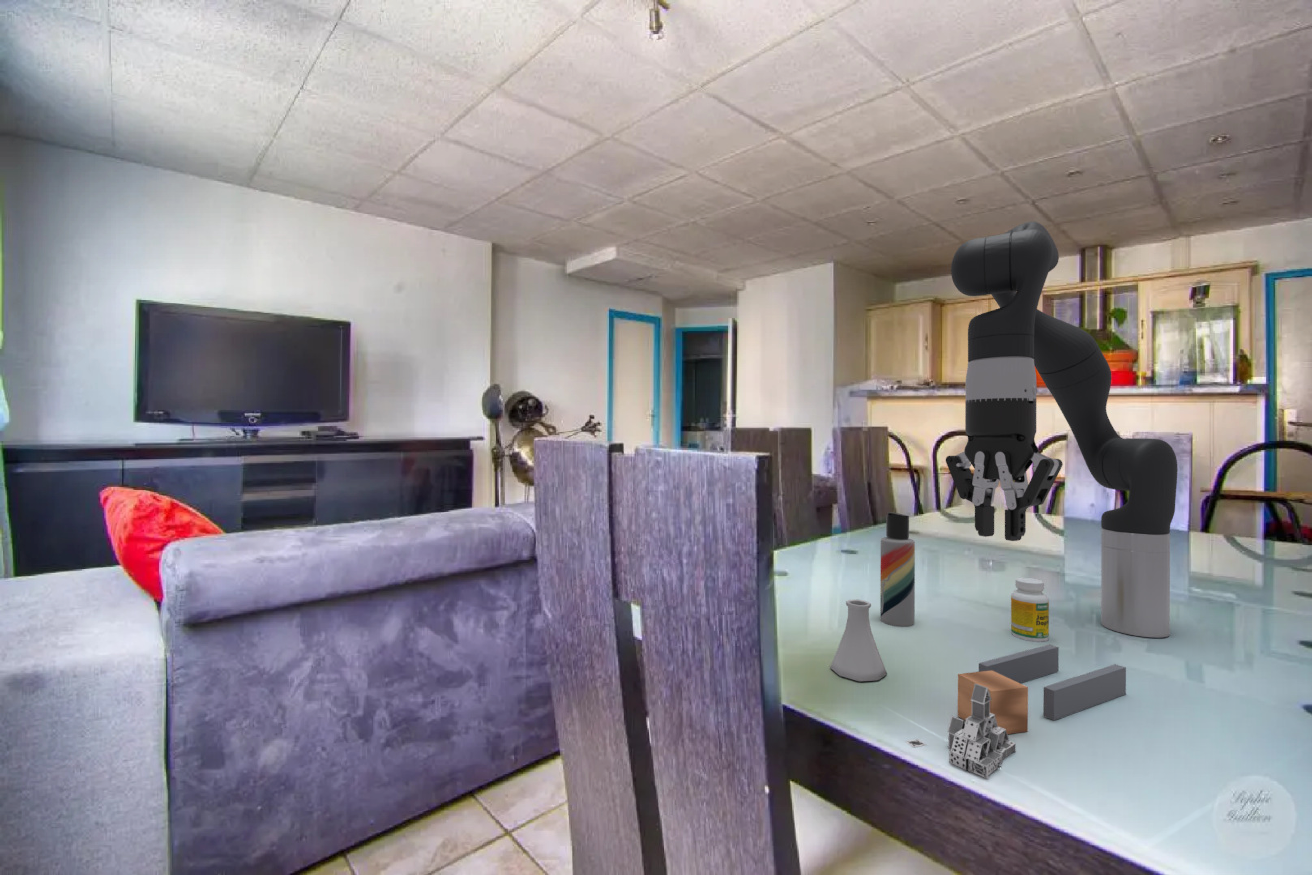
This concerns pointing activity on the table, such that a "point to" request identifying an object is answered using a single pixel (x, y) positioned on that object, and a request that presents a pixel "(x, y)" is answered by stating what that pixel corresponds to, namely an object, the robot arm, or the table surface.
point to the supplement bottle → (1030, 610)
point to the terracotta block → (996, 699)
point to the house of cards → (977, 738)
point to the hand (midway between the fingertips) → (999, 537)
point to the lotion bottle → (897, 573)
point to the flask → (858, 647)
